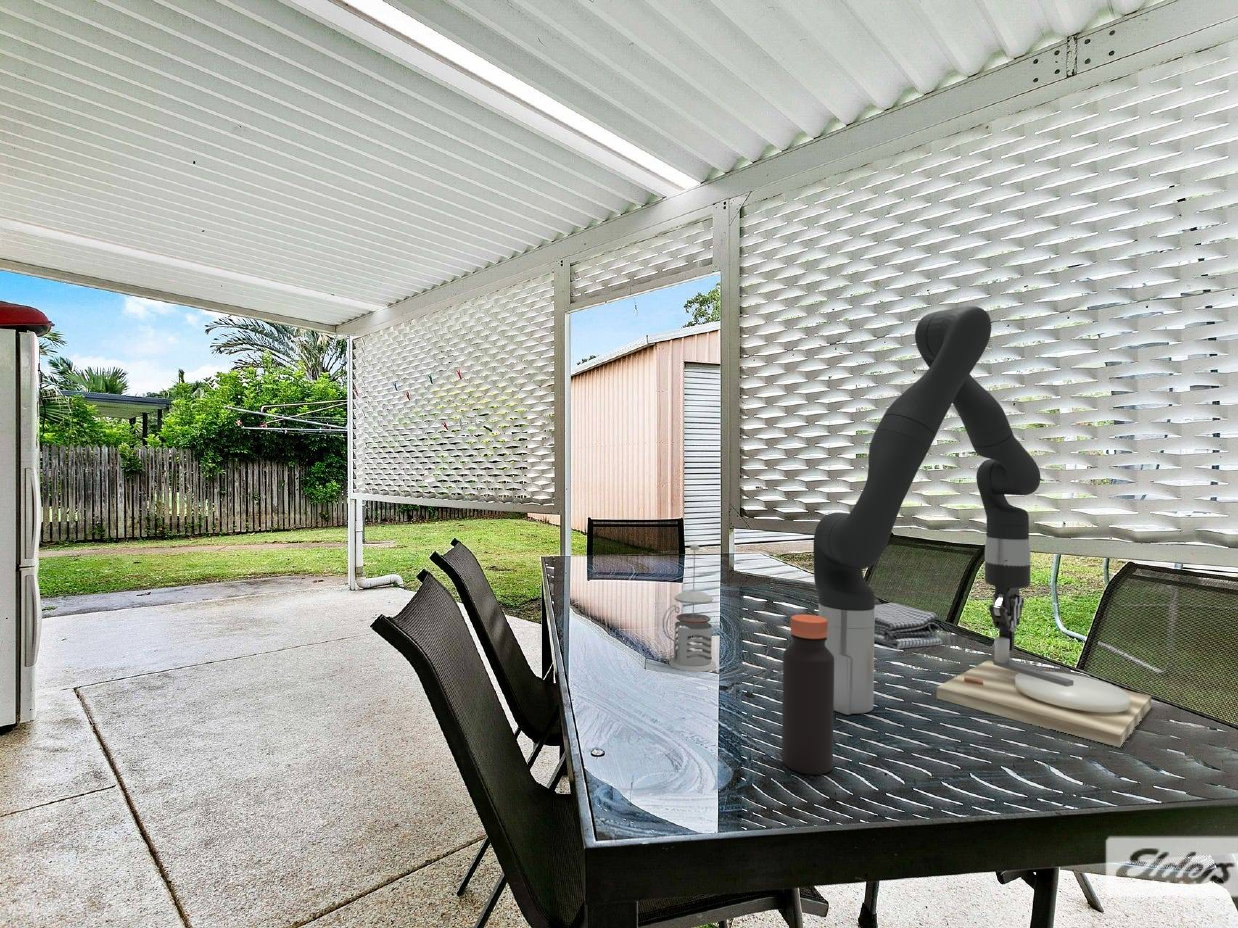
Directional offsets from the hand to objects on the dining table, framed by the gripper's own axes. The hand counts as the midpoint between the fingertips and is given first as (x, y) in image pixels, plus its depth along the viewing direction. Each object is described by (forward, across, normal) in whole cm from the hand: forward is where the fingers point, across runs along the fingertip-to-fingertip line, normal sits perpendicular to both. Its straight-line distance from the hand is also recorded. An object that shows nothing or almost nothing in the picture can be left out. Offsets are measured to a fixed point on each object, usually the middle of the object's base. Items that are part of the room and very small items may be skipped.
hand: (1006, 649), depth 120 cm
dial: (+4, -7, -9) cm, 12 cm away
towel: (+8, +15, +30) cm, 34 cm away
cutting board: (+6, -7, -8) cm, 12 cm away
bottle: (+5, -61, +6) cm, 62 cm away
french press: (+6, -41, +46) cm, 62 cm away
